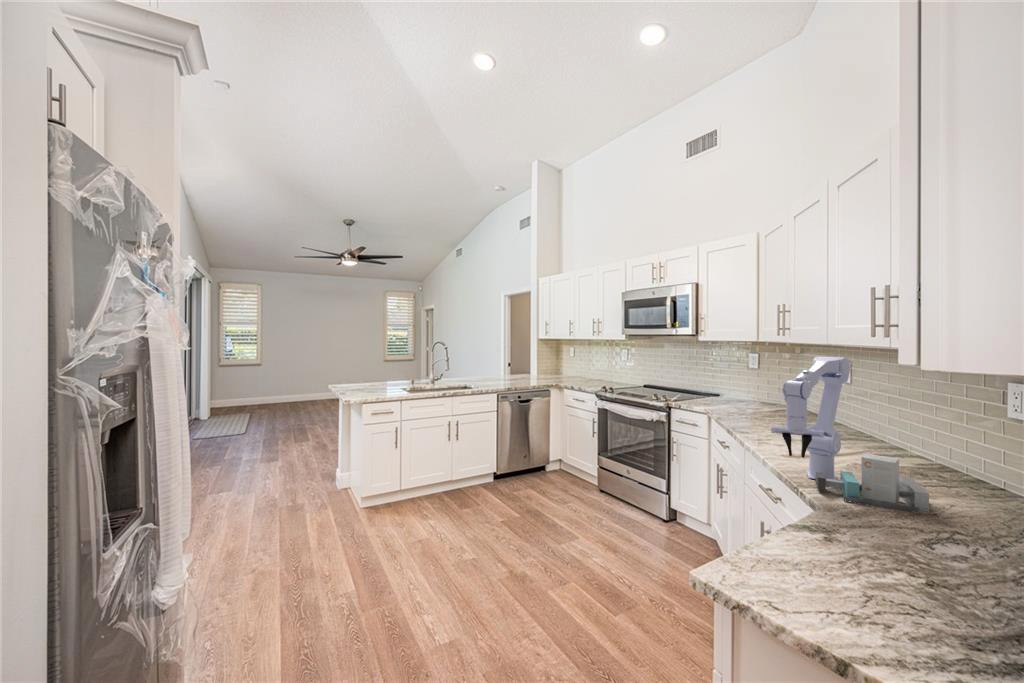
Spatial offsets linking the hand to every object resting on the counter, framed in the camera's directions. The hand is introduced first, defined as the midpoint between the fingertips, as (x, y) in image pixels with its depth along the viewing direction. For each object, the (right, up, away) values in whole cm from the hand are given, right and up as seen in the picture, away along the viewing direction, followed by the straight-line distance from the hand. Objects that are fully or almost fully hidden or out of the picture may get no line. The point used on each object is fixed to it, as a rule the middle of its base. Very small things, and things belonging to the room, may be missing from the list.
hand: (796, 456), depth 138 cm
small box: (+19, -11, -11) cm, 24 cm away
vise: (+19, -10, -11) cm, 24 cm away
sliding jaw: (+9, -10, -5) cm, 15 cm away
